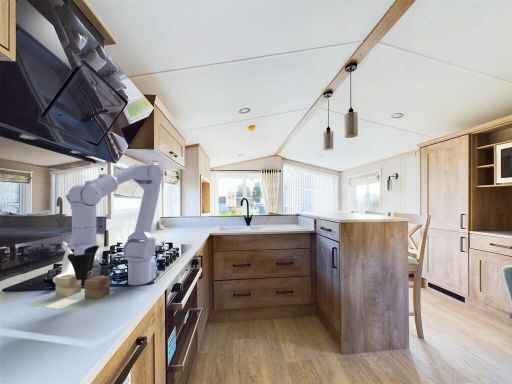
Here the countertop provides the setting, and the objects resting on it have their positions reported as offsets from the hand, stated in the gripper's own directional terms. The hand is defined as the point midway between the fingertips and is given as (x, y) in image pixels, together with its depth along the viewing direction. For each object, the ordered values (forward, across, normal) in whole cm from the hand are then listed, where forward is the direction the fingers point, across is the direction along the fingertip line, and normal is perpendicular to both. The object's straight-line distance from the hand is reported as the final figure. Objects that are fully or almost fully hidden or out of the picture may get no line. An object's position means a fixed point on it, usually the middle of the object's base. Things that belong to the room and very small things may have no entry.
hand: (84, 275), depth 70 cm
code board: (+10, -7, -4) cm, 12 cm away
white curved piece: (+10, -27, -10) cm, 31 cm away
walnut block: (+8, -6, +2) cm, 11 cm away
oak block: (+8, -13, -6) cm, 17 cm away
